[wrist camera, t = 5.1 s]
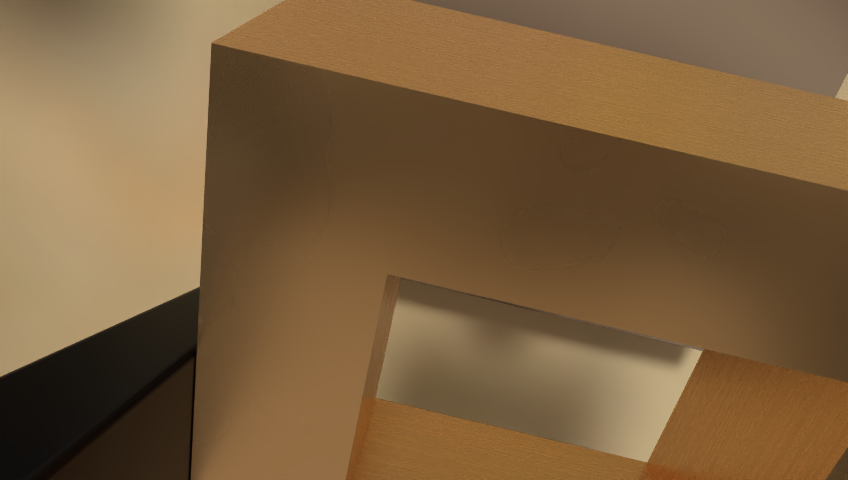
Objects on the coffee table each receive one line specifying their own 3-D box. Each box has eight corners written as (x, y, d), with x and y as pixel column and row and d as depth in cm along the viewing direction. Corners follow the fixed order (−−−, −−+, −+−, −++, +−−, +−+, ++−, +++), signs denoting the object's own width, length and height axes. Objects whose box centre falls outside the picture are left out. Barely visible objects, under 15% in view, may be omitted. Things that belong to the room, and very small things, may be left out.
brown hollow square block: (709, 554, 11) (769, 776, 8) (265, 447, 11) (183, 634, 8) (969, 129, 7) (1219, 277, 5) (321, -21, 7) (211, 42, 5)
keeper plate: (693, 319, 20) (748, 462, 15) (287, 222, 20) (214, 334, 15) (870, -47, 15) (1031, -5, 10) (335, -172, 15) (252, -189, 11)
